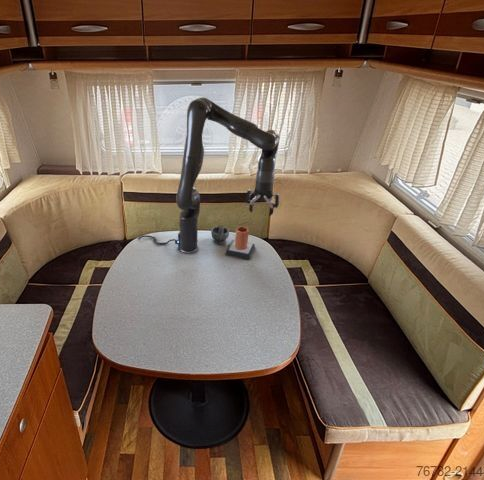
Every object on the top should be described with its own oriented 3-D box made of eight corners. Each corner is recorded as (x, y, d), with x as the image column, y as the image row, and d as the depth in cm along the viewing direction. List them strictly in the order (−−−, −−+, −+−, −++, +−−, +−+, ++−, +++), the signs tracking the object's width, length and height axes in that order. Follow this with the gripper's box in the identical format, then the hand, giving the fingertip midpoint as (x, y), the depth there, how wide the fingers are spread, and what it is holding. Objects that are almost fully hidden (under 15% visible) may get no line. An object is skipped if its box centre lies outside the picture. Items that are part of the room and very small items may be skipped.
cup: (233, 248, 182) (234, 231, 177) (236, 242, 188) (238, 225, 183) (245, 250, 180) (247, 233, 175) (248, 244, 186) (250, 227, 181)
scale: (226, 254, 182) (226, 249, 181) (232, 243, 192) (232, 239, 191) (248, 259, 179) (249, 254, 177) (254, 248, 188) (255, 243, 187)
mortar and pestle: (210, 237, 198) (211, 217, 192) (227, 237, 199) (228, 217, 193) (211, 247, 189) (212, 227, 183) (229, 247, 189) (230, 227, 183)
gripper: (246, 179, 151) (243, 214, 159) (280, 184, 147) (275, 219, 155) (250, 174, 158) (247, 207, 166) (283, 178, 153) (278, 212, 161)
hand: (260, 213), depth 160 cm, fingers open, 8 cm apart
